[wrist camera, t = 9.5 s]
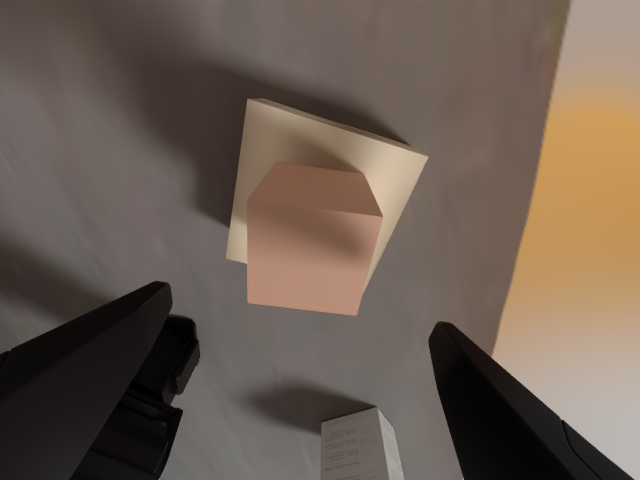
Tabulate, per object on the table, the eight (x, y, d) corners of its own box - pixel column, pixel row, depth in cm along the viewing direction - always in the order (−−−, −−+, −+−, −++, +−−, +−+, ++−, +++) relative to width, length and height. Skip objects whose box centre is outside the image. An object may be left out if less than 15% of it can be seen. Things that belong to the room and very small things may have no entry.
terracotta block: (272, 238, 17) (247, 303, 12) (276, 161, 15) (246, 198, 9) (348, 248, 17) (356, 315, 12) (364, 173, 15) (383, 217, 10)
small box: (339, 440, 36) (343, 558, 27) (320, 420, 34) (317, 541, 25) (394, 427, 34) (419, 549, 25) (378, 405, 32) (398, 530, 23)
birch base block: (242, 231, 21) (225, 258, 18) (264, 98, 17) (247, 98, 13) (358, 262, 23) (363, 292, 19) (408, 144, 18) (428, 156, 14)
